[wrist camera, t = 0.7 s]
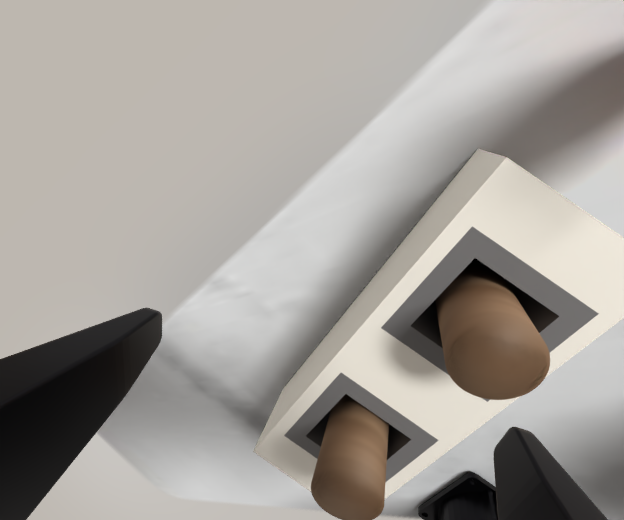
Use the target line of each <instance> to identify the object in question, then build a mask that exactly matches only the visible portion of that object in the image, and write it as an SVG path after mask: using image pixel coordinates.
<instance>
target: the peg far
mask: <svg viewBox="0 0 624 520" xmlns="http://www.w3.org/2000/svg"><path fill="white" fill-rule="evenodd" d="M388 433H389V423H387V422H386V421H384V420H383V419H381V418H380V417H379V416H377V415H376V414H374V413H373V412H371V411H370V410H369V409H367V408H366V407H364V406H363V405H361V404H360V403H359V402H357V401H356V400H354V399H353V398H351V397H350V396H348V395H347V394H345V395H344V396H343V397H342V398H341V399H340V400H339V401H338V403H337V404H336V405H335V406H334V407H333V408H332V409H331V411H330V415H329V419H328V422H327V426H326V430H325V433H324V437H323V441H322V445H321V448H320V452H319V456H318V459H317V463H316V467H315V471H314V474H313V478H312V482H311V492H312V495H313V497H314V499H315V501H316V502H317V503H318V505H319V506H320V507H321V508H322V509H324V510H325V511H326V512H328V513H329V514H331V515H333V516H335V517H337V518H339V519H342V520H372V519H375V518H376V517H378V516H379V515H380V514H381V512H382V510H383V508H384V498H385V482H386V465H387V449H388Z"/></svg>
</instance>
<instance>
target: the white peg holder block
mask: <svg viewBox="0 0 624 520" xmlns="http://www.w3.org/2000/svg"><path fill="white" fill-rule="evenodd" d="M474 258H476V259H477V260H479V261H480V262H482V263H483V264H485V265H486V266H488V267H489V268H490V269H492V270H493V271H495V272H496V273H498V274H499V275H501V276H502V277H503V278H505V281H506V282H507V284H508V285H509V287H510V289H511V290H512V292H513V293H514V295H515V296H516V298H517V300H518V301H519V303H520V304H521V306H522V307H523V309H524V310H525V312H526V314H527V315H528V317H529V318H530V320H531V321H532V323H533V325H534V326H535V328H536V329H537V331H538V332H539V334H540V335H541V337H542V339H543V340H544V342H545V343H546V345H547V347H548V350H549V353H550V367H549V371H548V373H547V375H546V377H547V376H548V375H549V374H551V373H552V372H553V371H554V370H556V369H557V368H558V367H560V366H561V365H562V364H564V363H565V362H566V361H568V360H569V359H570V358H572V357H573V356H574V355H576V354H577V353H578V352H580V351H581V350H582V349H583V348H585V347H586V346H587V345H589V344H590V343H591V342H593V341H594V340H595V339H597V338H598V337H599V336H601V335H602V334H603V333H605V332H606V331H607V330H609V329H610V328H611V327H613V326H614V325H615V324H616V323H618V322H619V321H620V320H622V319H623V318H624V238H623V237H622V236H621V235H619V234H618V233H616V232H615V231H613V230H612V229H610V228H609V227H608V226H606V225H605V224H603V223H602V222H600V221H599V220H597V219H596V218H594V217H593V216H592V215H590V214H589V213H587V212H586V211H584V210H583V209H581V208H580V207H578V206H577V205H576V204H574V203H573V202H571V201H570V200H568V199H567V198H565V197H564V196H562V195H561V194H560V193H558V192H557V191H555V190H554V189H552V188H551V187H549V186H548V185H546V184H545V183H544V182H542V181H541V180H539V179H538V178H536V177H535V176H533V175H532V174H530V173H529V172H528V171H526V170H525V169H523V168H522V167H520V166H519V165H517V164H516V163H515V162H513V161H512V160H510V159H509V158H507V157H505V156H501V155H498V154H495V153H491V152H488V151H485V150H481V149H477V150H476V152H475V153H474V154H473V155H472V157H471V158H470V159H469V160H468V162H467V163H466V164H465V165H464V166H463V168H462V169H461V170H460V171H459V173H458V174H457V175H456V176H455V178H454V179H453V180H452V181H451V182H450V184H449V185H448V186H447V187H446V189H445V190H444V191H443V192H442V194H441V195H440V196H439V197H438V199H437V200H436V201H435V202H434V203H433V205H432V206H431V207H430V208H429V210H428V211H427V212H426V213H425V215H424V216H423V217H422V218H421V219H420V221H419V222H418V223H417V224H416V226H415V227H414V228H413V229H412V231H411V232H410V233H409V234H408V235H407V237H406V238H405V239H404V240H403V242H402V243H401V244H400V245H399V247H398V248H397V249H396V250H395V251H394V253H393V254H392V255H391V256H390V258H389V259H388V260H387V261H386V263H385V264H384V265H383V266H382V267H381V269H380V270H379V271H378V272H377V274H376V275H375V276H374V277H373V279H372V280H371V281H370V282H369V284H368V285H367V286H366V287H365V288H364V290H363V291H362V292H361V293H360V295H359V296H358V297H357V298H356V300H355V301H354V302H353V303H352V304H351V306H350V307H349V308H348V309H347V311H346V312H345V313H344V314H343V316H342V317H341V318H340V319H339V320H338V322H337V323H336V324H335V325H334V327H333V328H332V329H331V330H330V332H329V333H328V334H327V335H326V336H325V338H324V339H323V340H322V341H321V343H320V344H319V345H318V346H317V348H316V349H315V350H314V351H313V352H312V354H311V355H310V356H309V357H308V359H307V360H306V361H305V362H304V364H303V365H302V366H301V367H300V368H299V370H298V371H297V372H296V373H295V375H294V376H293V377H292V378H291V380H290V381H289V382H288V383H287V385H286V386H285V387H284V388H283V390H282V392H281V394H280V396H279V398H278V400H277V402H276V405H275V407H274V409H273V411H272V413H271V415H270V417H269V419H268V421H267V423H266V426H265V428H264V430H263V432H262V434H261V436H260V438H259V440H258V442H257V444H256V447H255V449H254V451H253V452H255V453H256V454H258V455H259V456H260V457H262V458H263V459H265V460H266V461H268V462H269V463H270V464H272V465H273V466H275V467H276V468H278V469H279V470H280V471H282V472H283V473H285V474H286V475H287V476H289V477H290V478H292V479H293V480H295V481H296V482H297V483H299V484H300V485H302V486H303V487H305V488H306V489H307V490H309V491H310V492H311V482H312V478H313V474H314V471H315V467H316V463H317V459H318V456H319V452H320V448H321V445H322V441H323V437H324V433H325V430H326V426H327V422H328V419H329V415H330V411H331V409H332V408H333V407H334V406H335V405H336V404H337V403H338V401H339V400H340V399H341V398H342V397H343V396H344V395H345V394H347V395H348V396H350V397H351V398H353V399H354V400H356V401H357V402H359V403H360V404H361V405H363V406H364V407H366V408H367V409H369V410H370V411H371V412H373V413H374V414H376V415H377V416H379V417H380V418H381V419H383V420H384V421H386V422H387V423H389V433H388V449H387V465H386V482H385V498H384V499H386V498H387V497H388V496H390V495H391V494H392V493H394V492H395V491H396V490H398V489H399V488H400V487H401V486H403V485H404V484H405V483H407V482H408V481H409V480H411V479H412V478H413V477H415V476H416V475H417V474H419V473H420V472H421V471H423V470H424V469H425V468H427V467H428V466H429V465H430V464H432V463H433V462H434V461H436V460H437V459H438V458H440V457H441V456H442V455H444V454H445V453H446V452H448V451H449V450H450V449H452V448H453V447H454V446H456V445H457V444H458V443H459V442H461V441H462V440H463V439H465V438H466V437H467V436H469V435H470V434H471V433H473V432H474V431H475V430H477V429H478V428H479V427H481V426H482V425H483V424H485V423H486V422H487V421H489V420H490V419H491V418H492V417H494V416H495V415H496V414H498V413H499V412H500V411H502V410H503V409H504V408H506V407H507V406H508V405H510V404H511V403H512V402H514V401H515V400H516V399H518V398H519V397H520V396H519V397H516V398H512V399H506V400H490V399H484V398H480V397H477V396H474V395H472V394H470V393H467V392H466V391H464V390H463V389H461V388H460V387H459V386H458V385H457V384H456V383H455V382H454V381H453V380H452V379H451V377H450V376H449V374H448V372H447V369H446V365H445V359H444V353H443V347H442V341H441V334H440V328H439V322H438V316H437V310H436V303H435V299H436V298H437V297H438V296H439V295H440V294H441V293H442V292H443V291H444V290H445V289H446V288H447V287H448V286H449V285H450V284H451V283H452V282H453V280H454V279H455V278H456V277H457V276H458V275H459V274H460V273H461V272H462V271H463V270H464V269H465V268H466V267H467V266H468V265H469V264H470V263H471V262H472V260H473V259H474Z"/></svg>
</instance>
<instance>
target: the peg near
mask: <svg viewBox="0 0 624 520" xmlns="http://www.w3.org/2000/svg"><path fill="white" fill-rule="evenodd" d="M435 303H436V310H437V316H438V322H439V328H440V334H441V341H442V347H443V353H444V359H445V365H446V369H447V372H448V374H449V376H450V377H451V379H452V380H453V381H454V382H455V383H456V384H457V385H458V386H459V387H460V388H461V389H463V390H464V391H466V392H467V393H470V394H472V395H474V396H477V397H480V398H484V399H490V400H506V399H512V398H516V397H519V396H522V395H525V394H527V393H529V392H530V391H532V390H533V389H535V388H536V387H537V386H538V385H540V383H541V382H542V381H543V380H544V378H545V377H546V375H547V373H548V371H549V367H550V353H549V350H548V347H547V345H546V343H545V342H544V340H543V339H542V337H541V335H540V334H539V332H538V331H537V329H536V328H535V326H534V325H533V323H532V321H531V320H530V318H529V317H528V315H527V314H526V312H525V310H524V309H523V307H522V306H521V304H520V303H519V301H518V300H517V298H516V296H515V295H514V293H513V292H512V290H511V289H510V287H509V285H508V284H507V282H506V281H505V279H504V278H503V277H502V276H501V275H499V274H498V273H496V272H495V271H493V270H492V269H490V268H489V267H488V266H486V265H484V264H479V263H470V264H469V265H468V266H467V267H466V268H465V269H464V270H463V271H462V272H461V273H460V274H459V275H458V276H457V277H456V278H455V279H454V280H453V282H452V283H451V284H450V285H449V286H448V287H447V288H446V289H445V290H444V291H443V292H442V293H441V294H440V295H439V296H438V297H437V298H436V299H435Z"/></svg>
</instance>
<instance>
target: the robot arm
mask: <svg viewBox="0 0 624 520" xmlns="http://www.w3.org/2000/svg"><path fill="white" fill-rule="evenodd" d="M161 338H162V314H161V313H160V312H159V311H156V310H153V309H150V308H143V309H140V310H137V311H134V312H132V313H129V314H126V315H123V316H120V317H117V318H115V319H112V320H109V321H106V322H103V323H101V324H98V325H95V326H92V327H89V328H87V329H84V330H81V331H78V332H75V333H73V334H70V335H67V336H64V337H61V338H59V339H56V340H53V341H50V342H47V343H45V344H42V345H39V346H36V347H33V348H31V349H28V350H25V351H22V352H20V353H17V354H14V355H11V356H8V357H5V358H3V359H0V520H26V519H27V518H28V517H29V516H30V514H31V513H32V512H33V511H34V509H35V508H36V507H37V506H38V504H39V503H40V502H41V500H42V499H43V498H44V497H45V496H46V494H47V493H48V492H49V491H50V489H51V488H52V487H53V486H54V484H55V483H56V482H57V481H58V479H59V478H60V477H61V476H62V474H63V473H64V472H65V471H66V469H67V468H68V467H69V466H70V464H71V463H72V462H73V460H75V458H76V457H77V456H78V454H79V453H80V452H81V451H82V449H83V448H84V447H85V446H86V445H87V443H88V442H89V441H90V440H91V438H92V437H93V436H94V435H95V433H96V432H97V431H98V430H99V428H100V427H101V426H102V425H103V423H104V422H105V421H106V420H107V418H108V417H109V416H110V415H111V413H112V412H113V411H114V410H115V409H116V407H117V406H118V405H119V404H120V402H121V401H122V400H123V398H124V397H125V396H126V394H127V393H128V391H129V390H130V388H131V387H132V385H133V384H134V382H135V381H136V379H137V378H138V376H139V375H140V373H141V371H142V370H143V368H144V367H145V365H146V364H147V362H148V361H149V359H150V358H151V356H152V354H153V353H154V351H155V350H156V348H157V347H158V345H159V343H160V341H161ZM494 469H495V483H496V487H495V486H493V485H492V484H490V483H489V482H487V481H486V480H485V479H483V478H482V477H480V476H479V475H477V474H475V473H467V474H466V475H464V476H463V477H461V478H460V479H458V480H457V481H456V482H454V483H453V484H451V485H450V486H448V487H447V488H445V489H444V490H443V491H441V492H440V493H438V494H437V495H435V496H434V497H432V498H431V499H430V500H428V501H427V502H425V503H424V504H422V505H421V506H420V507H419V508H418V513H419V516H420V517H421V518H422V519H424V520H607V518H606V517H605V516H604V515H603V514H602V513H601V511H600V510H599V509H598V508H597V507H596V506H595V505H594V503H593V502H592V501H591V500H590V499H589V498H588V496H587V495H586V494H585V493H584V492H583V491H582V490H581V488H580V487H579V486H578V485H577V484H576V483H575V482H574V480H573V479H572V478H571V477H570V476H569V475H568V473H567V472H566V471H565V470H564V469H563V468H562V467H561V465H560V464H559V463H558V462H557V461H556V460H555V458H554V457H553V456H552V455H551V454H550V453H549V452H548V450H547V449H546V448H545V447H544V446H543V445H542V444H541V442H540V441H539V440H538V439H537V438H536V437H535V436H534V434H532V433H531V432H529V431H526V430H523V429H520V428H517V427H512V428H510V429H509V430H508V431H507V432H506V434H505V435H504V436H503V438H502V439H501V440H500V442H499V443H498V444H497V446H496V447H495V450H494Z"/></svg>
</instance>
